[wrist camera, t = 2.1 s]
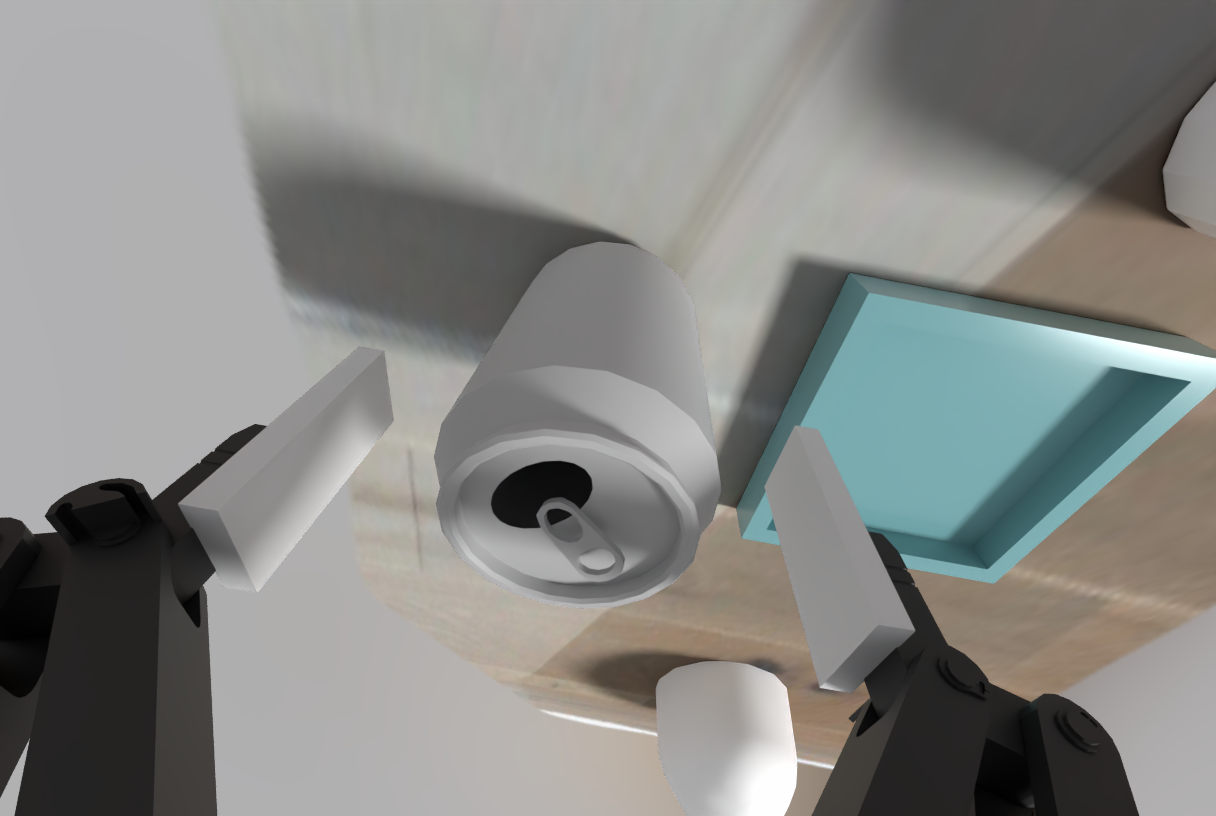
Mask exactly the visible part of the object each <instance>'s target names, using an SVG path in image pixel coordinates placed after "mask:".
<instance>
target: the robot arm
mask: <svg viewBox="0 0 1216 816" xmlns="http://www.w3.org/2000/svg"><path fill="white" fill-rule="evenodd" d="M393 421H394V419H393V412H392V405H391V397H390V390H389V383H388V376H387V368H386V361H385V354H384V351H382V350H377V349H371V348H366V347H360V346H359V347H358V348H357V349H356V350H355V351H354V352H352V353H351V354H350V355H349V356H348V357H347V358H346V359H344V360H343V361H342V362H341V363H340V364H339V365H337V366H336V367H335V368H334V369H333V370H332V371H331V372H329V373H328V374H327V375H326V376H325V377H324V378H322V379H321V380H320V381H319V382H318V383H317V384H316V385H314V386H313V387H312V388H311V389H310V390H309V391H307V392H306V393H305V394H304V395H303V396H302V397H301V398H299V399H298V400H297V401H296V402H295V403H294V404H293V405H291V406H290V407H289V408H288V409H287V410H285V411H284V412H283V413H282V414H281V415H280V416H279V417H278V418H276V419H275V420H274V421H273V422H272V423H270V425H268V426H264V425H258V424H254V425H252V426H250V427H248V428H246V429H244V430H242V431H239V432H237V433H235V434H233V435H231V436H230V437H229V438H228V439H227V440H225V441H224V442H223V443H222V444H221V445H219V446H218V447H217V448H216V449H215V451H214V452H211V453H210V454H208V455H207V456H206V457H204V458H203V459H202V460H201V463H200V464H199V463H197V464H196V465H195V466H193V467H192V468H191V469H190V470H189V471H187V472H186V473H185V474H184V475H182V476H181V477H180V478H179V479H177V480H176V481H175V482H174V483H173V484H171V485H170V486H169V487H168V488H166V489H165V490H164V491H163V492H162V493H160V494H159V495H158V496H157V497H155V498H154V499H153V500H152V499H151V498H150V496H149V494H148V493H147V491H146V489H145V488H144V486H143V484H141V483H139V482H137V481H135V480H133V479H122V478H116V479H110V480H102V481H98V482H95V483H92V484H88V485H85V486H82V487H80V488H78V489H76V490H74V491H72V492H70V493H68V494H66V495H64V496H63V497H62V498H60V499H59V500H58V501H57V502H55V503H54V504H53V505H52V506H51V507H50V508H49V510H48V512H47V513H46V515H45V517H46V519H47V520H48V521H49V522H50V524H51V525H52V526H53V527H54V528H55V530H56V531H57V532H54V533H42V534H32V533H31V531H30V530H29V529H28V528H27V527H26V526H25V524H24V523H23V522H22V521H20V520H17V519H13V518H10V517H9V518H0V797H1V795H2V793H3V791H4V789H5V787H6V785H7V783H8V781H9V779H10V777H11V775H12V773H13V771H14V769H15V767H16V765H17V763H18V761H19V759H20V757H21V755H22V753H23V751H24V749H25V747H26V744H27V743H28V741H29V739H30V741H29V746H28V751H27V757H26V761H25V766H24V771H23V776H22V781H21V786H20V791H19V796H18V801H17V806H16V811H15V816H217V803H216V781H215V760H214V739H213V717H212V696H211V675H210V654H209V635H208V634H209V633H208V612H207V594H206V591H205V589H204V587H203V584H204V583H205V582H206V581H207V580H208V579H209V578H210V577H211V576H212V574H213V573H214V572H216V574H217V576H218V578H219V580H220V581H221V583H222V585H223V587H226V588H233V589H238V590H244V591H250V592H256V593H257V592H258V591H259V590H260V589H261V588H262V586H263V585H264V584H265V583H266V581H267V580H268V579H269V578H270V576H271V575H272V574H273V573H274V571H275V570H276V569H277V568H278V566H279V565H280V564H281V562H282V561H283V560H284V559H285V557H286V556H287V555H288V553H289V552H290V551H291V550H292V548H293V547H294V546H295V545H296V544H297V542H298V541H299V540H300V538H301V537H302V536H303V535H304V533H305V532H306V531H307V530H308V528H309V527H310V526H311V525H312V523H313V522H314V521H315V519H316V518H317V517H318V515H319V514H320V513H321V512H322V511H323V509H324V508H325V507H326V506H327V504H328V503H329V502H330V501H331V499H332V498H333V497H334V495H335V494H336V493H337V492H338V490H339V489H340V488H341V487H342V485H343V484H344V483H345V482H346V480H347V479H348V478H349V477H350V475H351V474H352V473H353V471H354V470H355V469H356V468H357V466H358V465H359V464H360V463H361V461H362V460H363V459H364V458H365V456H366V455H367V454H368V453H369V451H370V450H371V449H372V447H373V446H374V445H375V444H376V442H377V441H378V440H379V439H380V437H381V436H382V435H383V434H384V432H385V431H386V430H387V429H388V427H389V426H390V425H391V423H392V422H393ZM764 487H765V491H766V494H767V498H768V502H769V505H770V509H771V512H772V516H773V520H774V523H775V527H776V530H777V534H778V538H779V541H780V545H781V549H782V552H783V556H784V559H785V563H786V567H787V570H788V574H789V578H790V581H791V585H792V588H793V592H794V596H795V599H796V603H797V607H798V610H799V614H800V617H801V621H802V625H803V628H804V632H805V635H806V639H807V643H808V646H809V650H810V654H811V657H812V661H813V664H814V668H815V672H816V675H817V679H818V683H819V686H820V688H825V689H831V690H837V691H843V692H849V693H852V692H853V691H854V690H855V689H856V688H857V687H858V686H859V685H861V684H862V683H863V682H864V681H865V684H866V686H867V689H868V692H869V695H870V699H868V700H867V701H866V702H865V703H864V704H863V705H862V706H861V707H860V708H859V709H858V710H856V711H855V712H854V713H853V714H852V715H851V716H850V717H849V718H848V719H849V720H851V721H852V722H854V721H855V720H856V722H855V724H854V727H853V729H852V731H851V733H850V735H849V737H848V739H847V741H846V744H845V746H844V748H843V750H842V752H841V754H840V756H839V758H838V761H837V763H836V765H835V767H834V769H833V771H832V773H831V775H830V778H829V780H828V782H827V784H826V786H825V788H824V790H823V793H822V795H821V797H820V799H819V801H818V803H817V805H816V807H815V810H814V812H813V814H812V816H1139V813H1138V811H1137V807H1136V804H1135V801H1134V798H1133V795H1132V791H1131V788H1130V786H1129V782H1128V779H1127V776H1126V772H1125V769H1124V767H1123V763H1122V760H1121V757H1120V754H1119V752H1118V750H1117V748H1116V746H1115V744H1114V742H1113V740H1112V738H1111V737H1110V736H1109V734H1108V733H1107V732H1106V731H1105V729H1104V728H1103V727H1102V726H1101V725H1100V723H1099V722H1098V721H1097V720H1095V719H1094V718H1093V717H1092V716H1091V715H1090V714H1089V713H1088V712H1087V711H1085V710H1084V709H1083V708H1081V707H1080V706H1078V705H1077V704H1075V703H1074V702H1072V701H1070V700H1069V699H1066V698H1064V697H1061V696H1059V695H1056V694H1043V695H1041V696H1040V697H1038V698H1037V699H1035V700H1034V701H1032V702H1029V701H1027V700H1025V699H1023V698H1021V697H1019V696H1017V695H1014V694H1012V693H1010V692H1008V691H1006V690H1004V689H1001V688H999V687H997V686H995V685H993V684H991V683H989V681H988V679H987V677H986V676H985V675H984V673H983V672H982V671H981V670H980V668H979V667H978V666H977V665H976V664H975V663H974V662H973V661H972V660H971V659H969V658H968V657H967V656H966V655H965V654H964V653H962V652H960V651H958V650H956V649H955V648H953V647H951V646H948V644H947V643H946V641H945V639H944V637H943V635H942V633H941V631H940V629H939V628H938V626H937V624H936V622H935V620H934V618H933V616H932V614H931V612H930V610H929V609H928V607H927V605H926V603H925V601H924V599H923V597H922V595H921V593H920V592H919V590H918V588H917V587H915V582H914V580H913V578H912V576H911V574H910V573H909V572H907V567H906V565H905V563H904V561H903V559H902V557H901V556H900V554H899V552H898V550H897V549H896V548H895V547H894V546H893V545H892V544H891V543H890V542H889V541H888V539H887V538H886V537H885V536H884V535H883V534H881V533H876V532H870V531H867V529H866V527H865V525H864V523H863V521H862V519H861V517H860V515H859V512H858V510H857V508H856V506H855V504H854V502H853V500H852V498H851V496H850V494H849V492H848V490H847V488H846V486H845V483H844V481H843V479H842V477H841V475H840V473H839V471H838V469H837V467H836V465H835V463H834V461H833V459H832V457H831V454H830V452H829V450H828V448H827V446H826V444H825V442H824V440H823V438H822V436H821V434H820V432H819V430H818V429H813V428H807V427H802V426H796V425H795V426H794V428H793V430H792V432H791V434H790V436H789V438H788V440H787V442H786V444H785V446H784V448H783V450H782V452H781V454H780V456H779V458H778V460H777V462H776V464H775V466H774V468H773V470H772V472H771V474H770V476H769V478H768V480H767V482H766V484H765V486H764Z"/></svg>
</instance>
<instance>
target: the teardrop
mask: <svg viewBox="0 0 1216 816" xmlns="http://www.w3.org/2000/svg"><path fill="white" fill-rule="evenodd" d="M656 707H657V733H658V753H659V757H660V761H661V765H662V768H663V772H664V775H665V777H666V779H667V781H668V783H669V785H670V787H671V789H672V790H673V792H674V794H675V796H676V798H677V800H678V802H679V804H680V806H681V807H682V809H683V810H684V812H685V814H686V815H687V816H784V814H785V812H786V810H787V808H788V806H789V804H790V801H791V799H792V796H793V793H794V790H795V788H796V776H797V756H796V749H795V742H794V736H793V729H792V722H791V715H790V708H789V701H788V694H787V688H786V687H785V686H784V685H783V684H782V683H781V682H780V680H779V679H778V678H777V677H776V676H775V675H774V674H772V673H769V672H767V671H764V670H761V669H759V668H756V667H754V666H751V665H749V664H742V663H735V662H729V661H703V662H699V663H694V664H690V665H686V666H681V667H677V668H675V669H673V670H672V671H670V672H669V673H667V674H666V675H665V676H663V677H662V678H660V679H659V681H658V684H657V686H656Z"/></svg>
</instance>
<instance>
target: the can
mask: <svg viewBox="0 0 1216 816" xmlns="http://www.w3.org/2000/svg"><path fill="white" fill-rule="evenodd" d="M434 459H435V464H436V469H437V474H438V479H439V484H440V490H439V494H438V498H437V502H436V506H437V510H438V515H439V519H440V524H441V528H442V532H443V533H444V535H445V536H446V538H447V539H448V541H449V542H450V544H451V545H452V547H453V548H454V550H455V551H456V553H457V554H458V556H459V557H460V558H461V559H462V560H463V561H464V562H466V563H467V564H468V565H469V566H470V567H472V568H473V569H474V570H475V571H476V572H478V573H479V574H480V575H481V576H482V577H483V578H485V579H486V580H488V581H490V582H492V583H494V584H496V585H498V586H500V587H502V588H504V589H505V590H507V591H509V592H511V593H513V594H515V595H519V596H522V597H525V598H528V599H532V600H535V601H538V602H541V603H545V604H549V605H557V606H565V607H573V608H581V609H584V608H602V607H616V606H620V605H623V604H627V603H631V602H635V601H638V600H642V599H646V598H648V597H649V596H651V595H653V594H655V593H656V592H658V591H660V590H662V589H664V588H665V587H667V586H669V585H671V584H672V583H674V582H675V581H676V580H677V579H678V578H679V577H680V576H681V574H682V573H683V572H684V571H685V570H686V569H687V568H688V566H689V565H690V564H691V563H692V562H693V560H694V556H695V553H696V549H697V546H698V542H699V539H700V535H701V534H702V532H703V531H704V530H705V529H706V528H707V526H708V525H709V524H710V523H711V522H712V520H713V517H714V513H715V510H716V507H717V504H718V500H719V497H720V494H721V490H722V488H721V482H720V475H719V469H718V462H717V455H716V449H715V442H714V436H713V429H712V422H711V416H710V409H709V403H708V396H707V389H706V383H705V376H704V370H703V363H702V356H701V350H700V343H699V337H698V330H697V323H696V317H695V310H694V304H693V300H692V298H691V296H690V295H689V293H688V291H687V289H686V287H685V285H684V283H683V282H682V280H681V278H680V276H678V275H677V274H676V273H675V272H674V271H673V270H672V269H671V268H670V267H669V266H668V265H666V264H665V263H664V262H663V261H662V260H661V259H660V258H659V257H657V256H655V255H653V254H651V253H648V252H646V251H644V250H642V249H639V248H637V247H635V246H633V245H630V244H620V243H610V242H595V243H591V244H587V245H582V246H578V247H574V248H570V249H569V250H567V251H565V252H564V253H562V254H561V255H559V256H557V257H556V258H554V259H553V260H551V261H550V262H548V263H546V265H545V266H544V267H543V269H542V270H541V271H540V273H539V274H538V275H537V276H536V278H535V279H534V280H533V282H532V283H531V284H530V286H529V287H528V289H527V290H526V292H525V294H524V295H523V297H522V298H521V300H520V301H519V303H518V305H517V306H516V308H515V309H514V311H513V312H512V314H511V316H510V317H509V319H508V320H507V322H506V323H505V325H504V327H503V328H502V330H501V331H500V333H499V334H498V336H497V338H496V339H495V341H494V342H493V344H492V346H491V347H490V349H489V350H488V352H487V353H486V355H485V357H484V358H483V360H482V361H481V363H480V364H479V366H478V368H477V369H476V371H475V372H474V374H473V375H472V377H471V379H470V380H469V382H468V383H467V385H466V386H465V388H464V390H463V391H462V393H461V394H460V396H459V398H458V399H457V401H456V402H455V404H454V405H453V407H452V409H451V410H450V412H449V413H448V415H447V416H446V418H445V420H444V421H443V423H442V425H441V429H440V433H439V437H438V442H437V446H436V450H435V455H434Z"/></svg>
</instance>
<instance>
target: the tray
mask: <svg viewBox="0 0 1216 816" xmlns="http://www.w3.org/2000/svg"><path fill="white" fill-rule="evenodd" d="M1215 388H1216V351H1215V350H1213V349H1211V348H1209V347H1207V346H1205V345H1203V344H1201V343H1199V342H1197V341H1195V340H1193V339H1191V338H1188V337H1183V336H1178V335H1172V334H1167V333H1162V332H1157V331H1151V330H1146V329H1141V328H1136V327H1131V326H1125V325H1120V324H1115V323H1110V322H1104V321H1099V320H1094V319H1089V318H1083V317H1078V316H1073V315H1068V314H1062V313H1057V312H1052V311H1047V310H1041V309H1036V308H1031V307H1026V306H1020V305H1015V304H1010V303H1005V302H1000V301H994V300H989V299H984V298H979V297H973V296H968V295H963V294H958V293H952V292H947V291H942V290H937V289H931V288H926V287H921V286H916V285H910V284H905V283H900V282H895V281H889V280H884V279H879V278H874V277H869V276H863V275H858V274H853V273H849V275H848V277H847V279H846V281H845V283H844V285H843V287H842V289H841V292H840V294H839V296H838V298H837V300H836V302H835V304H834V306H833V308H832V310H831V312H830V314H829V317H828V319H827V321H826V323H825V325H824V327H823V329H822V331H821V333H820V335H819V337H818V339H817V342H816V344H815V346H814V348H813V350H812V352H811V354H810V356H809V358H808V360H807V362H806V364H805V367H804V369H803V371H802V373H801V375H800V377H799V379H798V381H797V383H796V385H795V387H794V389H793V392H792V394H791V396H790V398H789V400H788V402H787V404H786V406H785V408H784V410H783V412H782V414H781V417H780V419H779V421H778V423H777V425H776V427H775V429H774V431H773V433H772V435H771V437H770V439H769V442H768V444H767V446H766V448H765V450H764V452H763V454H762V456H761V458H760V460H759V462H758V464H757V467H756V469H755V471H754V473H753V475H752V477H751V479H750V481H749V483H748V485H747V487H746V489H745V492H744V494H743V496H742V498H741V500H740V502H739V504H738V506H737V508H736V510H737V516H738V521H739V527H740V532H741V538H743V539H748V540H754V541H760V542H765V543H771V544H776V545H780V541H779V538H778V534H777V530H776V527H775V523H774V520H773V516H772V512H771V509H770V505H769V502H768V498H767V494H766V491H765V487H764V486H765V484H766V482H767V480H768V478H769V476H770V474H771V472H772V470H773V468H774V466H775V464H776V462H777V460H778V458H779V456H780V454H781V452H782V450H783V448H784V446H785V444H786V442H787V440H788V438H789V436H790V434H791V432H792V430H793V428H794V426H795V425H796V426H802V427H807V428H813V429H818V430H819V432H820V434H821V436H822V438H823V440H824V442H825V444H826V446H827V448H828V450H829V452H830V454H831V457H832V459H833V461H834V463H835V465H836V467H837V469H838V471H839V473H840V475H841V477H842V479H843V481H844V483H845V486H846V488H847V490H848V492H849V494H850V496H851V498H852V500H853V502H854V504H855V506H856V508H857V510H858V512H859V515H860V517H861V519H862V521H863V523H864V525H865V527H866V529H867V531H870V532H876V533H881V534H883V535H884V536H885V537H886V538H887V539H888V541H889V542H890V543H891V544H892V545H893V546H894V547H895V548H896V549H897V550H898V552H899V554H900V556H901V557H902V559H903V561H904V563H905V565H906V567H907V568H910V569H916V570H921V571H927V572H932V573H938V574H943V575H949V576H955V577H960V578H966V579H971V580H977V581H982V582H988V583H995V582H996V581H997V580H998V579H1000V578H1001V577H1002V576H1003V575H1004V574H1005V573H1006V572H1007V571H1009V570H1010V569H1011V568H1012V567H1013V566H1014V565H1015V564H1017V563H1018V562H1019V561H1020V560H1021V559H1022V558H1023V557H1024V556H1026V555H1027V554H1028V553H1029V552H1030V551H1031V550H1032V549H1034V548H1035V547H1036V546H1037V545H1038V544H1039V543H1040V542H1041V541H1043V540H1044V539H1045V538H1046V537H1047V536H1048V535H1049V534H1051V533H1052V532H1053V531H1054V530H1055V529H1056V528H1057V527H1058V526H1060V525H1061V524H1062V523H1063V522H1064V521H1065V520H1066V519H1068V518H1069V517H1070V516H1071V515H1072V514H1073V513H1074V512H1075V511H1077V510H1078V509H1079V508H1080V507H1081V506H1082V505H1083V504H1085V503H1086V502H1087V501H1088V500H1089V499H1090V498H1091V497H1092V496H1094V495H1095V494H1096V493H1097V492H1098V491H1099V490H1100V489H1102V488H1103V487H1104V486H1105V485H1106V484H1107V483H1108V482H1109V481H1111V480H1112V479H1113V478H1114V477H1115V476H1116V475H1117V474H1119V473H1120V472H1121V471H1122V470H1123V469H1124V468H1125V467H1126V466H1128V465H1129V464H1130V463H1131V462H1132V461H1133V460H1134V459H1136V458H1137V457H1138V456H1139V455H1140V454H1141V453H1142V452H1143V451H1145V450H1146V449H1147V448H1148V447H1149V446H1150V445H1151V444H1153V443H1154V442H1155V441H1156V440H1157V439H1158V438H1159V437H1160V436H1162V435H1163V434H1164V433H1165V432H1166V431H1167V430H1168V429H1170V428H1171V427H1172V426H1173V425H1174V424H1175V423H1176V422H1178V421H1179V420H1180V419H1181V418H1182V417H1183V416H1184V415H1185V414H1187V413H1188V412H1189V411H1190V410H1191V409H1192V408H1193V407H1195V406H1196V405H1197V404H1198V403H1199V402H1200V401H1201V400H1202V399H1204V398H1205V397H1206V396H1207V395H1208V394H1209V393H1210V392H1212V391H1213V390H1214V389H1215Z"/></svg>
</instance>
